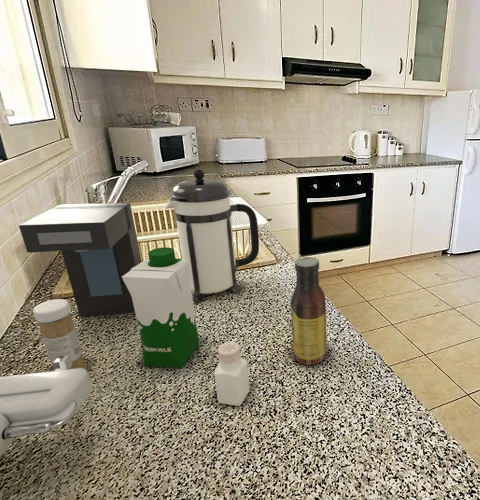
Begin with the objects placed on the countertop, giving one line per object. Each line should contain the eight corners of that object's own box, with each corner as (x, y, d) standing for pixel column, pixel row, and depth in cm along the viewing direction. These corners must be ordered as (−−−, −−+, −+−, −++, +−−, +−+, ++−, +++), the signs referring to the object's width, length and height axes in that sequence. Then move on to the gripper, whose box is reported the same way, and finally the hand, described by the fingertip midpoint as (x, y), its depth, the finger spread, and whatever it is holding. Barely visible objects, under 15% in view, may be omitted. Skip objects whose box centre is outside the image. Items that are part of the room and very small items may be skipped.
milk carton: (205, 341, 73) (192, 247, 66) (184, 372, 65) (166, 268, 58) (162, 339, 74) (143, 245, 66) (135, 370, 65) (111, 266, 58)
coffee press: (225, 309, 85) (210, 177, 74) (167, 298, 89) (144, 172, 78) (262, 278, 101) (255, 165, 90) (211, 269, 105) (198, 161, 94)
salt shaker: (251, 390, 62) (246, 341, 58) (240, 408, 58) (235, 357, 54) (228, 386, 62) (223, 338, 59) (216, 404, 58) (209, 354, 55)
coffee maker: (55, 345, 71) (17, 226, 63) (87, 307, 84) (59, 204, 76) (129, 338, 74) (103, 222, 65) (149, 302, 87) (130, 202, 78)
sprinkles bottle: (68, 363, 67) (48, 297, 62) (93, 364, 66) (74, 298, 61) (48, 381, 62) (24, 311, 57) (74, 382, 62) (53, 312, 57)
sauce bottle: (303, 343, 74) (300, 250, 66) (332, 351, 72) (332, 255, 64) (286, 363, 68) (281, 263, 61) (317, 372, 66) (316, 270, 59)
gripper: (56, 407, 42) (104, 337, 54) (-174, 436, 38) (-64, 353, 50) (70, 449, 44) (113, 372, 57) (-145, 480, 40) (-47, 390, 53)
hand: (28, 363), depth 53 cm, fingers open, 8 cm apart
